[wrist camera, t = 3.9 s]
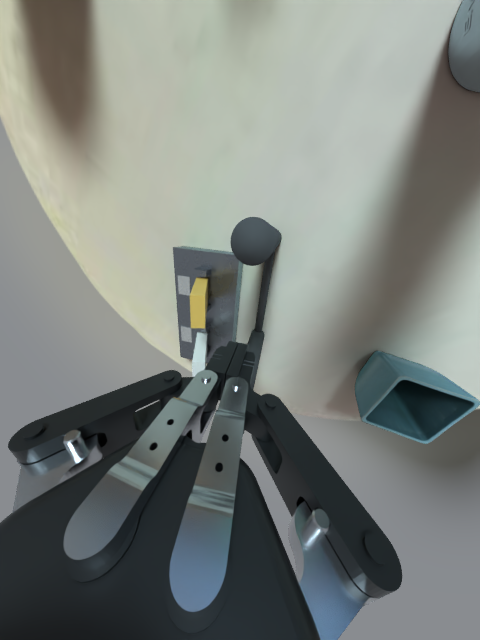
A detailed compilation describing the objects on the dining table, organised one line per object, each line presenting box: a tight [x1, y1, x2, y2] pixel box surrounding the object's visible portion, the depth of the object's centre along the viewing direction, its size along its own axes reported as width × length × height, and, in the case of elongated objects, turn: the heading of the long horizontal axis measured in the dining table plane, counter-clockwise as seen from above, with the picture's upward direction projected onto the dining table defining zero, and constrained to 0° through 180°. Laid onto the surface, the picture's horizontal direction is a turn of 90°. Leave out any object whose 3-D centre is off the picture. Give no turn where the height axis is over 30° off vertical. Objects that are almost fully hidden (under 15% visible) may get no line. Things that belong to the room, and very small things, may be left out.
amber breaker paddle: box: [190, 277, 208, 328], centre depth 23 cm, size 2×4×8 cm, turn 175°
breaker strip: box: [173, 246, 243, 363], centre depth 30 cm, size 10×20×5 cm, turn 174°
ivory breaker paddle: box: [192, 331, 207, 377], centre depth 27 cm, size 2×4×8 cm, turn 175°
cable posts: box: [231, 217, 281, 434], centre depth 21 cm, size 2×18×18 cm, turn 174°
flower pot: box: [355, 351, 480, 444], centre depth 26 cm, size 9×9×9 cm
